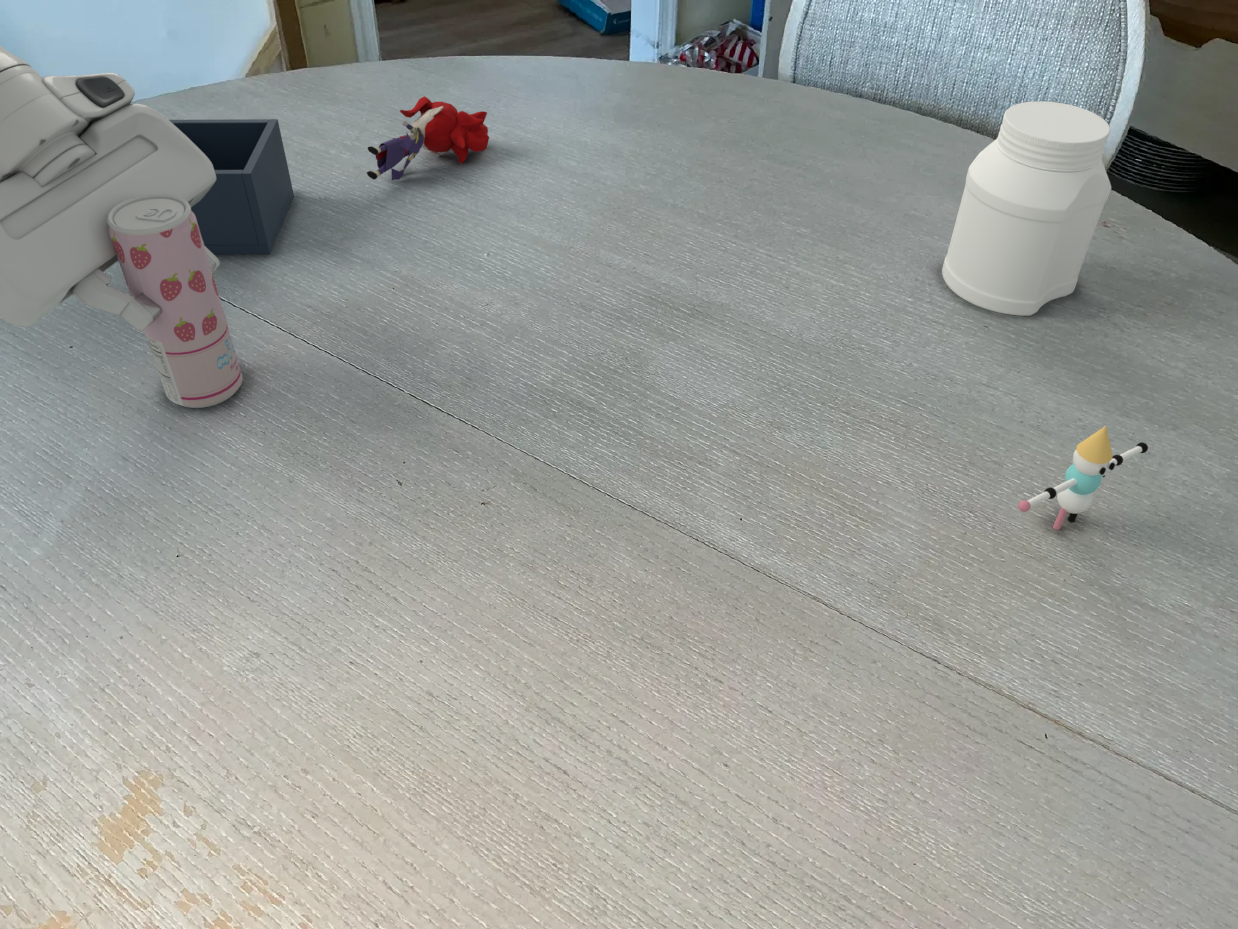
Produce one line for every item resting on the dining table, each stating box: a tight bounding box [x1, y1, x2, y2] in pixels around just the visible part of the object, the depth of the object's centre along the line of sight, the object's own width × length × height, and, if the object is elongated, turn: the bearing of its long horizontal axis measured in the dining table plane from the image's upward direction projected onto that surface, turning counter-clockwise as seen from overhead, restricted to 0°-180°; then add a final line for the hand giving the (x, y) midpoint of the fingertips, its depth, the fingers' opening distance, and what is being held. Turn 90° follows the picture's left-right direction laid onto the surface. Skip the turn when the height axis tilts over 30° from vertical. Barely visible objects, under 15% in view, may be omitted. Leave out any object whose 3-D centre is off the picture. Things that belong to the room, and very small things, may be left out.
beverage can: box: [107, 194, 244, 409], centre depth 73 cm, size 6×6×15 cm
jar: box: [941, 100, 1112, 317], centre depth 87 cm, size 12×10×15 cm
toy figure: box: [1017, 425, 1149, 531], centre depth 66 cm, size 12×2×9 cm, turn 121°
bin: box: [168, 118, 295, 256], centre depth 95 cm, size 12×12×8 cm
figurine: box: [366, 95, 490, 181], centre depth 105 cm, size 6×8×15 cm
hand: (183, 296), depth 72 cm, fingers closed on beverage can, 5 cm apart
